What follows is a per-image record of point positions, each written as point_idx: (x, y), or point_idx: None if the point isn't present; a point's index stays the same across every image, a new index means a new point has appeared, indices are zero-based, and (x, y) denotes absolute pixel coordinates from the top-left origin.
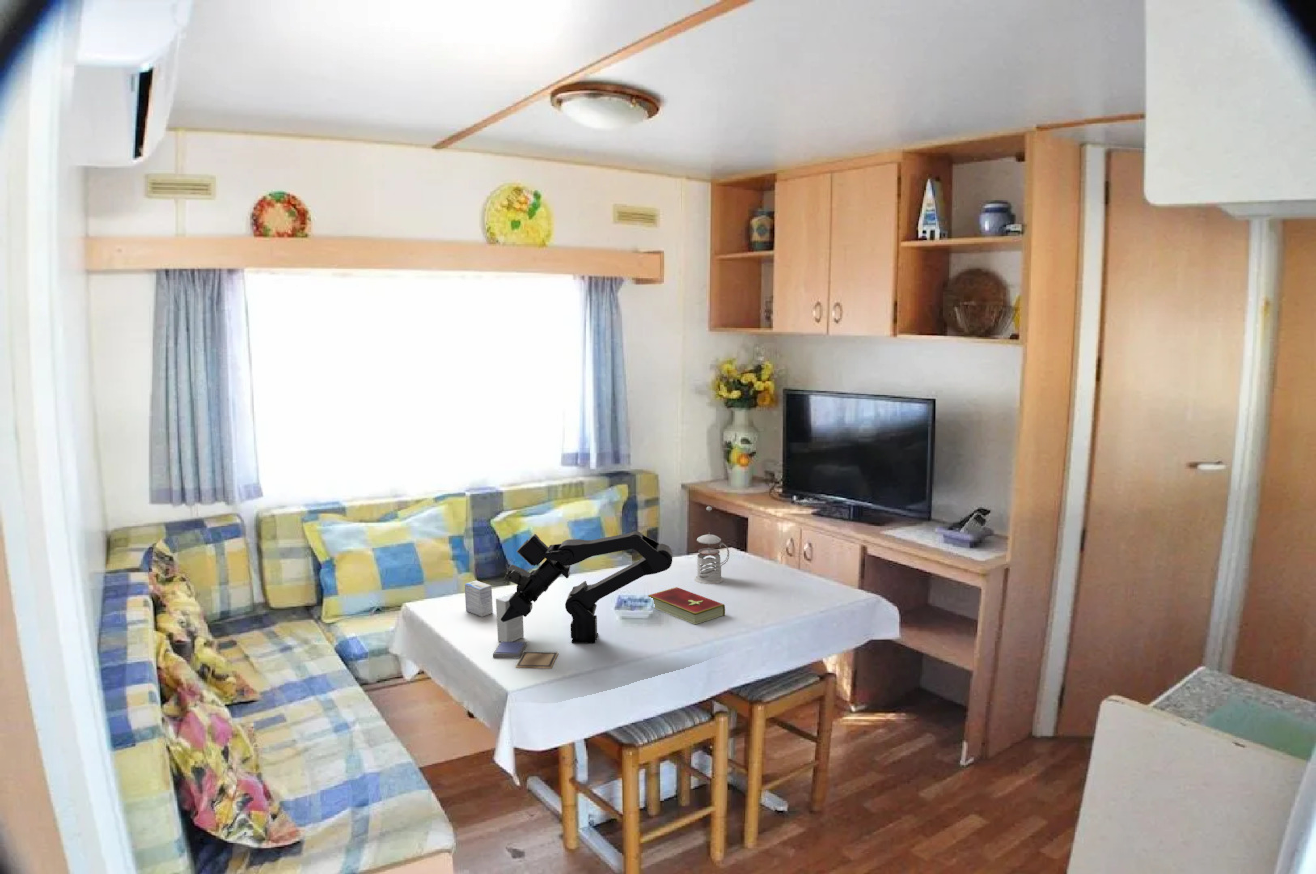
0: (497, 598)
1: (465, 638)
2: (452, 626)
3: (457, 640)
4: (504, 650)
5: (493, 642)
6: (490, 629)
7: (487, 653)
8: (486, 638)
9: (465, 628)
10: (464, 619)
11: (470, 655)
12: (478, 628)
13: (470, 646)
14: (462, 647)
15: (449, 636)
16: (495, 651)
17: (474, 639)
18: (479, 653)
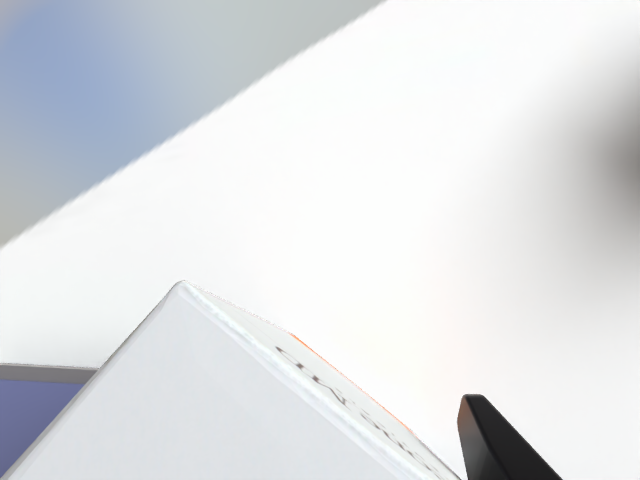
0: (175, 316)
1: (324, 125)
2: (505, 13)
3: (294, 91)
4: (4, 445)
5: (257, 310)
6: (484, 239)
7: (77, 311)
8: (326, 248)
9: (483, 87)
10: (629, 46)
11: (62, 215)
12: (492, 160)
13: (199, 182)
14: (188, 142)
15: (353, 37)
16: (16, 374)
17: (309, 179)
18: (84, 260)
